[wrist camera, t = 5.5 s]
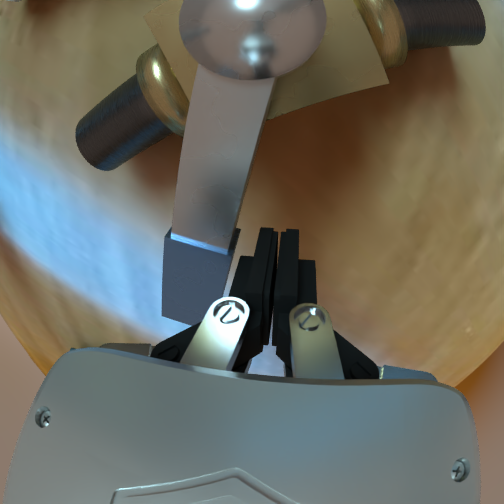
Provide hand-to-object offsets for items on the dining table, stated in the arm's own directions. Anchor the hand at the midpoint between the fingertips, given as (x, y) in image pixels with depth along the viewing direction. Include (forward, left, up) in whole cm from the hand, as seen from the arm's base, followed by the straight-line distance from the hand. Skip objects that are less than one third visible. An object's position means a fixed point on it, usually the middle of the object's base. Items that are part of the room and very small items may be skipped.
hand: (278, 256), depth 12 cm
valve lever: (0, -5, 0) cm, 5 cm away
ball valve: (-3, -9, -8) cm, 12 cm away
